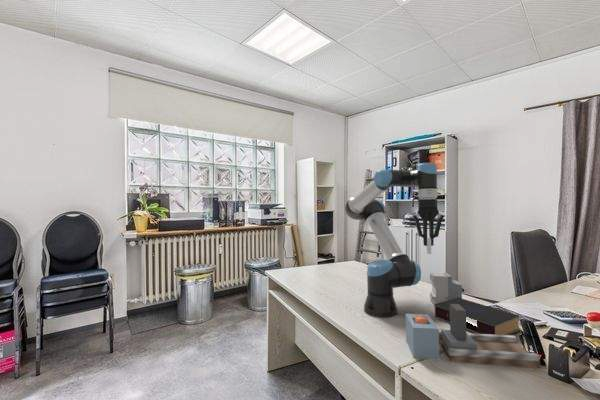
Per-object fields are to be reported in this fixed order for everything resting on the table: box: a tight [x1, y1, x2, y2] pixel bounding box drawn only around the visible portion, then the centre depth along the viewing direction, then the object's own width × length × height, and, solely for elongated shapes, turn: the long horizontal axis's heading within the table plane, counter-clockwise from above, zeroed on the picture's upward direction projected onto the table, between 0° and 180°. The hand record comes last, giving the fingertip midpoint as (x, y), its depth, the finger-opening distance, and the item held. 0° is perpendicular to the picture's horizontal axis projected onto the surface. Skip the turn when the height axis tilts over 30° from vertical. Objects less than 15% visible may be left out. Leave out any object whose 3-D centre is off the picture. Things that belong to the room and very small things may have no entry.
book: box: [433, 297, 520, 335], centre depth 120 cm, size 17×25×7 cm
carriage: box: [440, 304, 477, 350], centre depth 98 cm, size 8×10×13 cm
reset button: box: [415, 316, 427, 324], centre depth 100 cm, size 4×4×4 cm
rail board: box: [439, 331, 541, 369], centre depth 97 cm, size 26×14×4 cm, turn 81°
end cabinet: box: [405, 313, 440, 360], centre depth 100 cm, size 8×12×10 cm, turn 171°
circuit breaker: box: [429, 271, 465, 307], centre depth 143 cm, size 8×14×15 cm, turn 78°
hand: (428, 253), depth 124 cm, fingers closed
